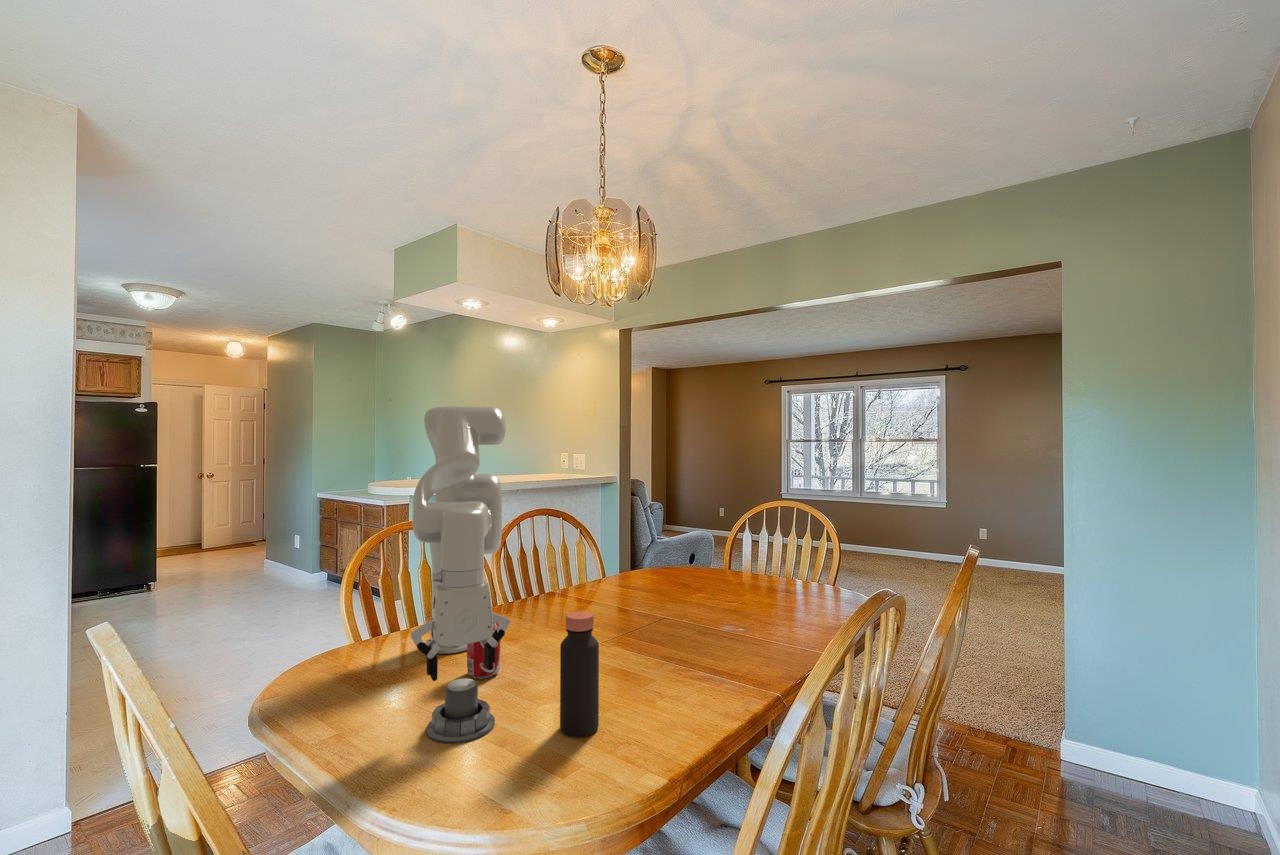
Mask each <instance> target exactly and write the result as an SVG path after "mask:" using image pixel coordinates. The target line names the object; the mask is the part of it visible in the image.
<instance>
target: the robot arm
mask: <svg viewBox="0 0 1280 855" xmlns="http://www.w3.org/2000/svg"><path fill="white" fill-rule="evenodd" d="M505 420H506V419H505V416H504V414H503V412H502V410H501V409H499V408H497V407H489V406H454V405H453V406H449V405H448V406H436V407H432V408H429V409H428V410H426V412H425V414H424V420H423V421H424V423H423V424H424V430H425V433H426V435H427V438H428V440H429V443H430V445H431V448H432V451H433V453H434V457H435V459H434V460H435V463H434V464H433V465H432V466H431V467H429V469H427V470H426V471H425V473H424V474H423V475H422V476H421V478H420V479H419V481H418V483H417V485H416V487H415V489H414V493H413V497H412V498H413V499H412V501H413V502H412V531H413V535H414V537H415V539H416V540H418V542H421V543H427V544H428V543H429V550H430V559H431V619H430V620H429V621H427V622H425V623H423V624H422V625H420V626H419V627H418V628H416V629H414V630H413V631H411V632H410V633H409V634H410V635H409V636H410V638H411V639H412V641H413V643H414V645H415V647H416V648H417V650H418V651H419V652H421V653H422V654H423V655H425V656H426V675H427V676H430V678H431V680H432V682H436V681H437V680H438V666H439V665H438V661H439V659H438V657H437V655H436V654H438V655H439V654H441V655H442V654H446V655H447V654H448V655H449V654H458V653H463V652H467V644H469V643H474V642H480V641H484V640H486V643H485V645H484V665H485V666H486V668H487V669H488V670H492V663H495V647H496V646H497V645H498V642H499V641H500V640H502V639H503V637H504V636H505V635H506V631H507V629H508V628H509V625H510V623H511V621H510V619H509V618H508V617H506V616H504V615H501V614H499V613H495V612H493V604H492V596H491V595H492V594H491V588H490V585H489V582H487V581H486V580H485V555H491V554H495V553H497V552H498V551H499V550H500V547H501V545H502V534H503V533H502V532H503V531H502V528H503V527H502V522H503V520H502V517H503V514H502V513H503V511H502V510H503V509H502V508H503V507H502V506H503V503H502V502H503V495H502V494H503V492H502V486H501V481H500V479H499V478H498V477H497V476H496V475H494V474H491V473H490V474H489V473H477V472H478V470H479V468H480V466H481V463H480V462H481V459H480V450H479V448H480V447H479V445H480V446H483V445H484V446H485V445H486V446H490V445H491V446H497V445H500V444H502V443H503V441H504V440H505V437H506V427H507V426H506V421H505ZM434 495H435V502H433V501H432V502H429V500H430V499H431V498H432V496H434ZM493 621H495V622H497V623H499V627H498V629H497V630H496V631H495V632H494V633H493ZM429 632H430V634H431V638H428V639H427V640H426V641H425V642H424V641H423V640H422V637H423V636H425V635H426V634H428V633H429Z"/></svg>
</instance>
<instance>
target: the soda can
mask: <svg viewBox="0 0 1280 855" xmlns="http://www.w3.org/2000/svg"><path fill="white" fill-rule="evenodd" d="M498 627H499V623H497V622H495V621H493V633H494V632H495V631H496V630H497V629H498ZM501 640H502V639H501ZM501 640H500V641H499V642H498V645H497V646H496V647H495V663H492V670H488V669H487V668H486V666H485V665H484V645H485V643H486V640H484V641H480V642H474V643H469V644H467V650H466V659H467V660H466V668H467V669H466V670H467V674H468V675H469V676H471V677H472V676H473V677H472V678H474V677H475V678H474V679H477V678H485V679H489V678H488V677H490V678H493V677H494V676H495V675H496V674H498V672H500V669H501V647H502V646H501V643H502V642H501ZM493 675H494V676H493Z"/></svg>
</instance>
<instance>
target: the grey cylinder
mask: <svg viewBox="0 0 1280 855" xmlns="http://www.w3.org/2000/svg"><path fill="white" fill-rule="evenodd" d="M478 688H479V683H478V682H476V681H475V680H474V679H472V678H459V679H458V678H457V679H454V680H452V681H450V682H448V683H447V684H446V685H445V686H444V703H445V718H447V719H465V718H469V717H472V716H474V715H476V714H478V699H479V696H478V694H479V693H478V692H479V690H478Z"/></svg>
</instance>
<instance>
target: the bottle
mask: <svg viewBox="0 0 1280 855" xmlns="http://www.w3.org/2000/svg"><path fill="white" fill-rule="evenodd" d="M594 616H595V614H594V613H592V612H589V611H582V610H579V611H571V612H569V613H567V614H566V615H565V632H567V636H566V637H565V638H564V639H563V640H562V641H561V643H560V649H559V652H560V654H559V655H560V657H559V658H560V662H559V663H560V666H559V667H560V669H559V674H560V676H559V677H560V678H559V681H560V682H559V684H560V685H559V691H560V692H559V715H560V716H559V728H560V731H561V733H563V734H564V736H568V737H571V738H585V737H587V736H591V735H593V734H595V733H596V732H597V731H598V728H599V724H600V723H599V714H600V713H599V709H600V708H599V707H600V704H599V700H600V699H599V698H600V697H599V696H600V694H599V693H600V692H599V690H600V688H599V687H600V685H599V684H600V682H599V681H600V680H599V677H600V675H599V674H600V673H599V672H600V668H599V667H600V664H599V662H600V650H599V649H600V644H599V641H598V640H597V638H596V637H595V636H594V635H593V633H592V632H593V631H594V619H595V618H594Z"/></svg>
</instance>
